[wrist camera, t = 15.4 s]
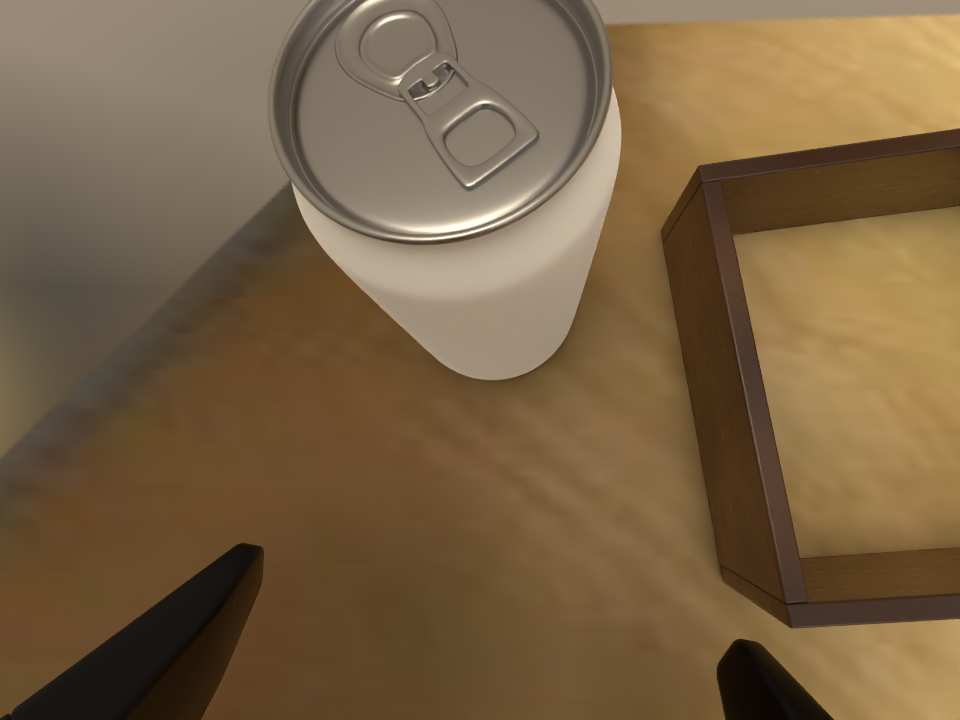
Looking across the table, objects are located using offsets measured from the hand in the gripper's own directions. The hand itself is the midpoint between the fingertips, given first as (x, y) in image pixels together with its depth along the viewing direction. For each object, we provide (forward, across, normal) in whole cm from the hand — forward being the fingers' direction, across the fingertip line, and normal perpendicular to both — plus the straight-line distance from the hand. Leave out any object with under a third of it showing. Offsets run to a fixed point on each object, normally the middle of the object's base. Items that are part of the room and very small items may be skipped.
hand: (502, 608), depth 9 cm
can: (+12, +1, -2) cm, 13 cm away
